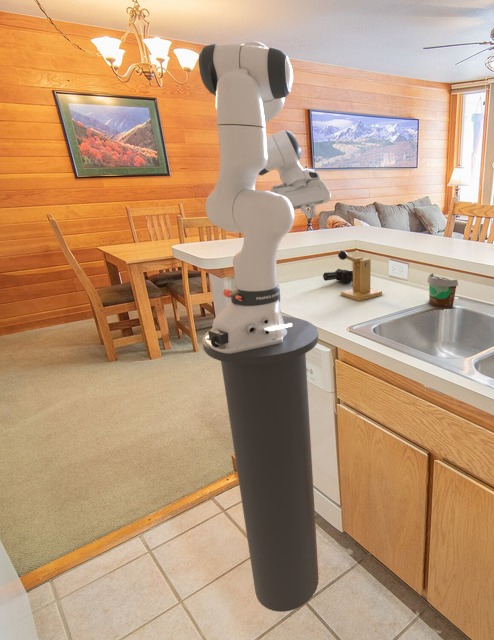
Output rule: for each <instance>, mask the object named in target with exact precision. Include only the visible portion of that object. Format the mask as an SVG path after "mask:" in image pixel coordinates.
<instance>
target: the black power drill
mask: <svg viewBox="0 0 494 640" xmlns="http://www.w3.org/2000/svg"><path fill="white" fill-rule="evenodd" d="M322 278H323V281H324V282H325V281H326V282H327V281H333V280H336V281H338V282H342V283H344V284H350V283H351V282H353V270H348V269H341V268H337V269H336V270H335V271H330V272H329V271H328V272H327V271H326V272H324V273H323V275H322Z"/></svg>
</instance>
